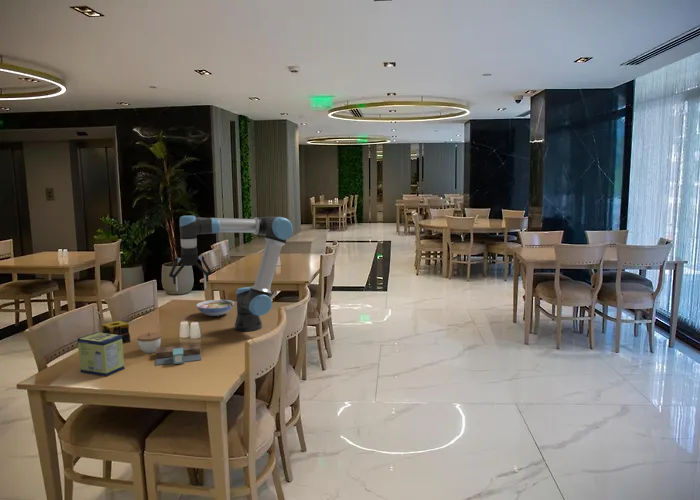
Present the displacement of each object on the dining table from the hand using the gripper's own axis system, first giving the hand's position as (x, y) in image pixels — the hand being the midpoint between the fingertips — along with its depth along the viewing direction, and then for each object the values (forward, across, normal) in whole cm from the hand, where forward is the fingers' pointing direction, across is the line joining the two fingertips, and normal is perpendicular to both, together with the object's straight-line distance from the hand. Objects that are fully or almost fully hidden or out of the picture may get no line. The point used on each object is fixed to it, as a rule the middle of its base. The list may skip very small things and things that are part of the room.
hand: (191, 289), depth 262 cm
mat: (+29, +8, +21) cm, 36 cm away
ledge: (+29, +8, +12) cm, 32 cm away
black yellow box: (+29, +38, -20) cm, 52 cm away
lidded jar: (+29, +21, +2) cm, 36 cm away
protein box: (+29, +40, +23) cm, 54 cm away
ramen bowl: (+29, -15, -58) cm, 67 cm away
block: (+26, +8, +18) cm, 33 cm away
